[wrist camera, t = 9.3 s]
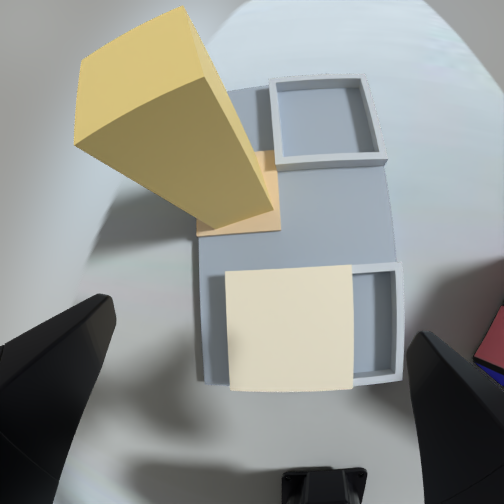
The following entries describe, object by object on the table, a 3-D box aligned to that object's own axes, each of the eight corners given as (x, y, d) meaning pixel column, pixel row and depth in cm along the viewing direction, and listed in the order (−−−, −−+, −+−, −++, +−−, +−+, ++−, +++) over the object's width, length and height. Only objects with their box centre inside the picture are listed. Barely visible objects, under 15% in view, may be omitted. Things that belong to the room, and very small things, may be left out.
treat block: (274, 209, 19) (204, 76, 6) (215, 229, 19) (73, 145, 7) (256, 156, 19) (183, 5, 7) (202, 176, 20) (81, 60, 7)
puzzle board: (393, 375, 17) (404, 387, 14) (208, 380, 19) (195, 392, 17) (361, 86, 20) (365, 67, 17) (205, 101, 22) (195, 84, 20)
